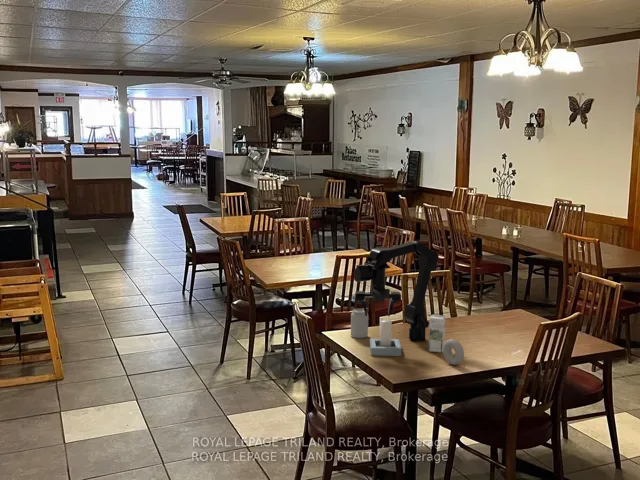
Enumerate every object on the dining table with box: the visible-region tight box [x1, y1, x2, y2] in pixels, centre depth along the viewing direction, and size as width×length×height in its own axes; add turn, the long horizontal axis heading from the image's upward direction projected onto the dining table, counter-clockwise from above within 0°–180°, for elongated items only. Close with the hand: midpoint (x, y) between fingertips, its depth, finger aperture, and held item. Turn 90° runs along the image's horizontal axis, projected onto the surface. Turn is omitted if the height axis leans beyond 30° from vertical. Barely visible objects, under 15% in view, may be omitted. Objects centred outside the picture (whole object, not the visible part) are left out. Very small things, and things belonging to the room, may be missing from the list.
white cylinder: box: [379, 319, 393, 347], centre depth 258 cm, size 5×5×12 cm
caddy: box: [369, 338, 402, 357], centre depth 259 cm, size 12×12×3 cm
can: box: [350, 308, 369, 340], centre depth 277 cm, size 8×8×12 cm
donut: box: [442, 338, 465, 366], centre depth 243 cm, size 10×4×10 cm, turn 33°
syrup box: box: [428, 314, 446, 354], centre depth 259 cm, size 6×6×14 cm
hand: (377, 316), depth 262 cm, fingers open, 9 cm apart
